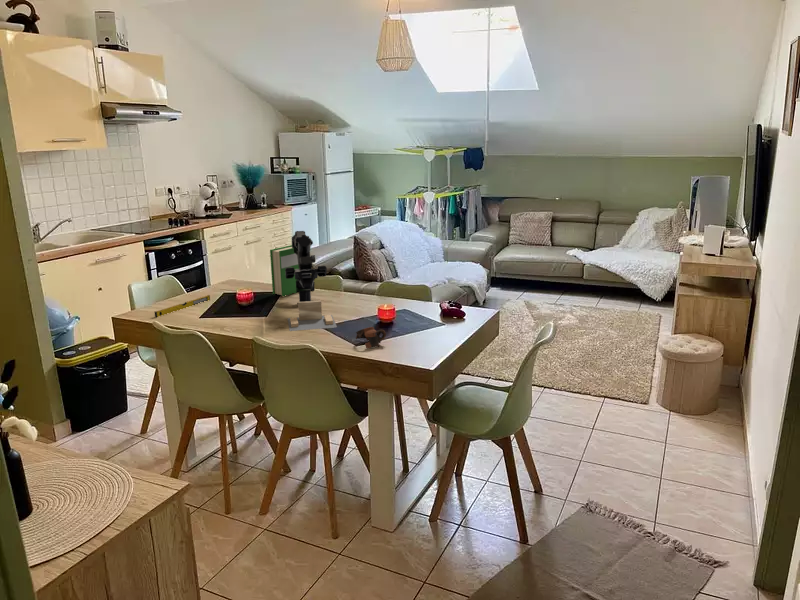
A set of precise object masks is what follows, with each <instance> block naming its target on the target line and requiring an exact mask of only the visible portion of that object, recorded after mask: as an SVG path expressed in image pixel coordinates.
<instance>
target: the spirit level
mask: <svg viewBox="0 0 800 600" xmlns="http://www.w3.org/2000/svg"><path fill="white" fill-rule="evenodd" d="M208 300H210V301H211V295H210V294H207V295H205V296H202V297H201V296H200V297H197V298H195V299H191V300H189V301H185V302H184V303H179V304H176V305H173V306H172V305H171V306H168V307H166V308H161V309H159V310H156V311H154V317H155V318H159V317H158V316H160V317H162V316H161V315H163V316H165V315H164V314H166V315H168V314H167V313H169V314H172V313H174V312H173V311H175V312H178V311H181V310H180V309H182V310H184V309H183V308H185V309H187V308H186V307H188V308H190V307H189V306H191V307H193V306H192V305H194V306H196V305H195V304H197V305H199V304H198V303H200V302H203V303H205V302H204V301H207V302H209V301H208ZM200 304H201V303H200ZM177 310H178V311H177ZM171 312H172V313H171Z"/></svg>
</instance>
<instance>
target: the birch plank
mask: <svg viewBox="0 0 800 600" xmlns="http://www.w3.org/2000/svg"><path fill="white" fill-rule="evenodd" d="M297 303H298V304H297V307H298V317H299V321H300V320H313V319H322V316H323V311H322V310H323V309H322V300H312V301H305V302H299V301H298V302H297Z"/></svg>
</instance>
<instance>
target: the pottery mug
mask: <svg viewBox="0 0 800 600" xmlns="http://www.w3.org/2000/svg"><path fill="white" fill-rule="evenodd" d="M355 333H356V337H355V339H356V340H357V339H365V340H369V341H367V342H365V343H364V346H365V348H368V349H371V347H372V348H377V346H378V347H379V346H380V344H381V342H382V341H383V340H385V339H386V337H387V333H386V331H385V330H384V329H378V330H376V329H375V327H374V326H369V327H365V328H363V329H359V330H357V331H356V332H355ZM381 334H382V336H381ZM380 336H381V337H380Z"/></svg>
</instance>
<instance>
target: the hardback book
mask: <svg viewBox="0 0 800 600" xmlns="http://www.w3.org/2000/svg"><path fill="white" fill-rule="evenodd" d="M269 256H270V257H269V258H270V271H271V284H272V285H271V287H272V295H273V294H277V295H280V296H281V297H282V296H285V295H288V296H290V295H289V294H291V295H293V294H292V293H294V294H296V279H295V274H294V277H293V278H291V279H286V276H285V269H286V268H287V267H294V270H295V269H299V267H298V258H297V255H296V254H295V253H294V250H293V248H292V244H291V245H290V244H289V245H285V246H281V247H275V248H273V249H272V248H271V249H270V250H269ZM297 289H298V288H297ZM285 297H286V296H285Z"/></svg>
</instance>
